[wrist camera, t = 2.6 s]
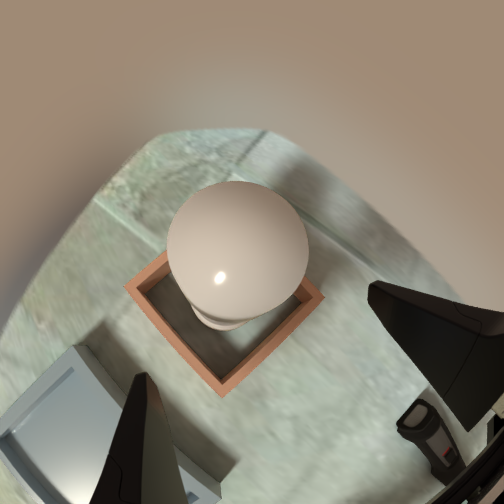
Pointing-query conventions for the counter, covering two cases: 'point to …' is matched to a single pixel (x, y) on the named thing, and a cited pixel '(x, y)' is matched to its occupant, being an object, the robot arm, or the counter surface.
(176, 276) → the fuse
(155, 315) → the socket ring
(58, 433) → the parts tray
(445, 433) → the electric trimmer
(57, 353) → the counter surface
